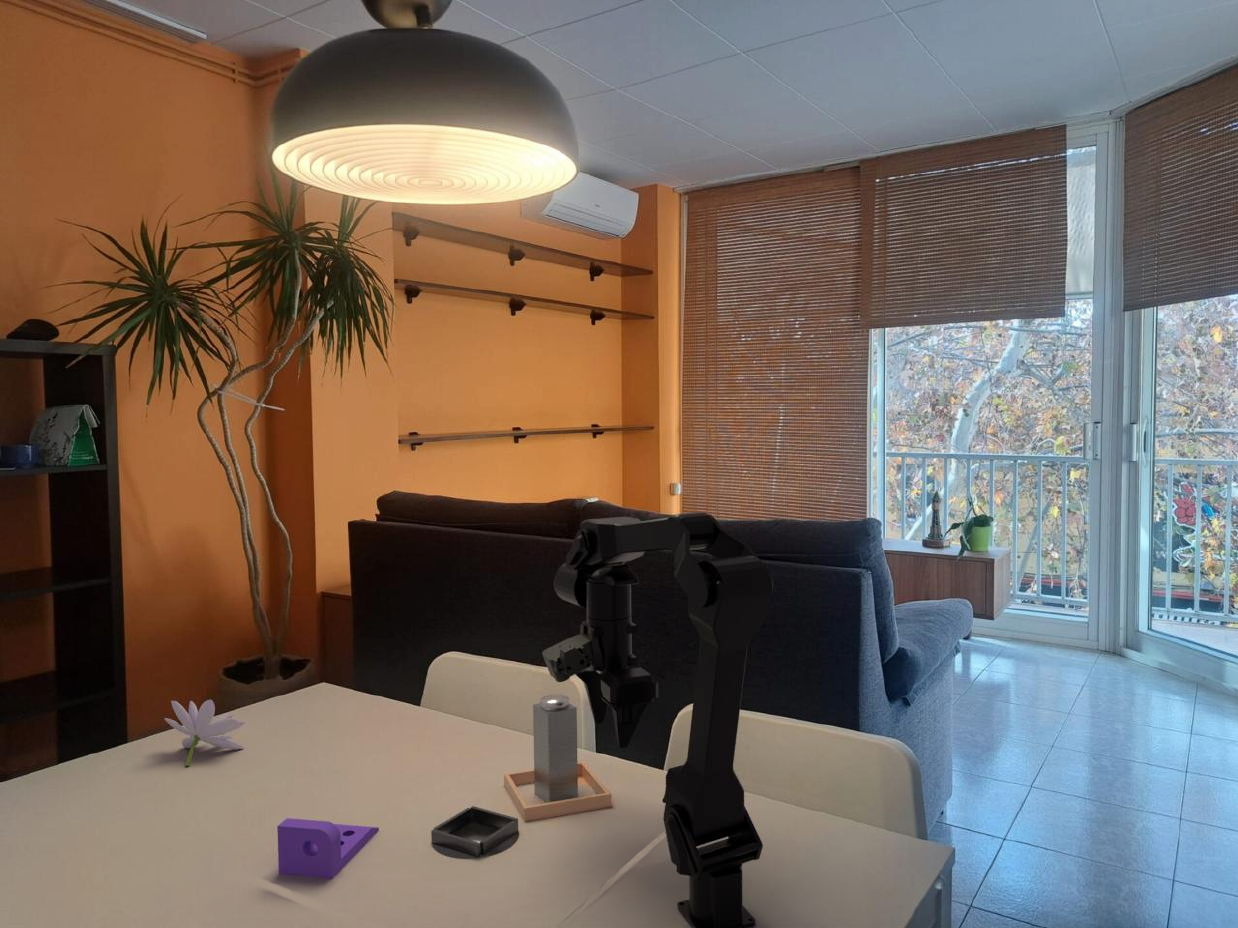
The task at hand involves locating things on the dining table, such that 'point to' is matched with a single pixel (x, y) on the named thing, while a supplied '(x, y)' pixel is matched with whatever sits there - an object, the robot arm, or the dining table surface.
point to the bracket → (318, 846)
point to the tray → (563, 806)
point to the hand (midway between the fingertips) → (610, 734)
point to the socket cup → (475, 834)
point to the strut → (555, 749)
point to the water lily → (204, 727)
